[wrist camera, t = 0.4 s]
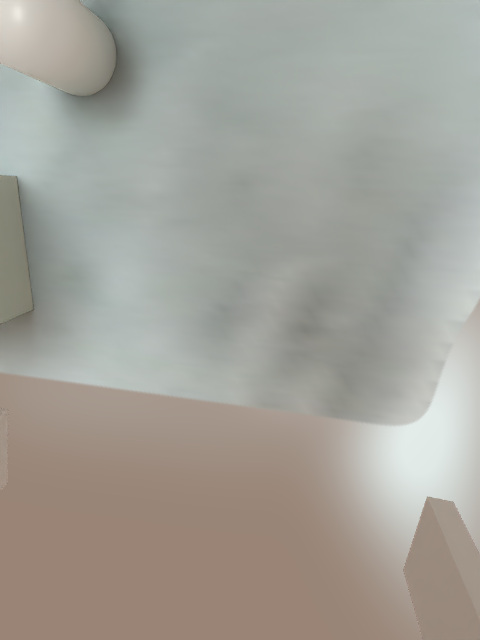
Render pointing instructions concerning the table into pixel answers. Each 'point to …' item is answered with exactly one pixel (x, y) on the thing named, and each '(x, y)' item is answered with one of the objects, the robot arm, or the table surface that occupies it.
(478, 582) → the robot arm
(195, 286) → the table surface
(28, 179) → the table surface
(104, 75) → the beige rounded cylinder
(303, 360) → the table surface
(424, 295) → the table surface
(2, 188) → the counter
